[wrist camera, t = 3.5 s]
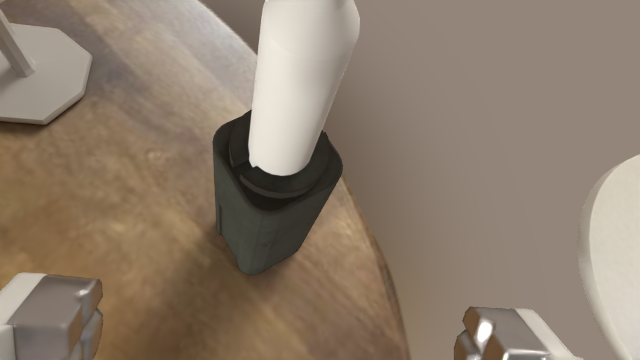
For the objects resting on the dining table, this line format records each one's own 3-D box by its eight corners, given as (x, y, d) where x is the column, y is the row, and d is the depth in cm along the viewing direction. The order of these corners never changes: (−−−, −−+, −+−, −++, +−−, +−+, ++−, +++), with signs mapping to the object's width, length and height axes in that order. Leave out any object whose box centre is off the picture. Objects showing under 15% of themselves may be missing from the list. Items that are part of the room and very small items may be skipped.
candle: (210, 220, 32) (180, -147, 10) (271, 188, 34) (364, -181, 12) (246, 281, 31) (305, 24, 9) (308, 245, 33) (489, -45, 10)
